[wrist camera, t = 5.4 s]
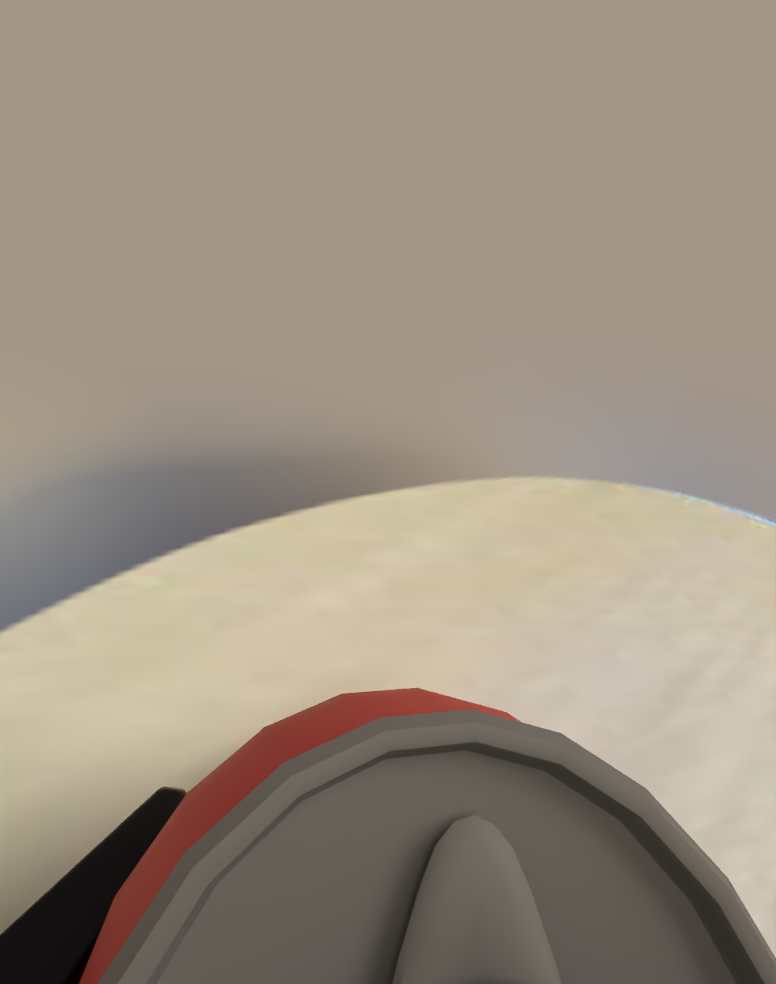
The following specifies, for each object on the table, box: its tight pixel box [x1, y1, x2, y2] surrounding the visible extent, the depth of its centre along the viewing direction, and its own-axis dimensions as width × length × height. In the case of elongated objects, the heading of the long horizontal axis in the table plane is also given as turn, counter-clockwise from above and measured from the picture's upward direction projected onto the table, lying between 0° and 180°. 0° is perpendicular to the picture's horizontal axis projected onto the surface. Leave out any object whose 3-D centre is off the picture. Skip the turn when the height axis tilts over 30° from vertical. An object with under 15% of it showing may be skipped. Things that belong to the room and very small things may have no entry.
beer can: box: [79, 688, 776, 984], centre depth 8 cm, size 7×7×12 cm
